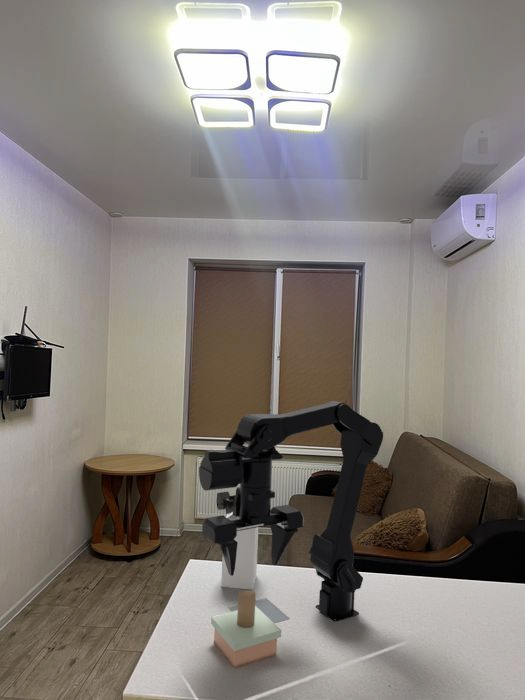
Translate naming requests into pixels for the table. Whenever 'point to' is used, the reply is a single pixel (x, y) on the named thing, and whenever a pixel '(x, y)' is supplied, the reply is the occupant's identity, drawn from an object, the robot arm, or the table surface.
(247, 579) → the milk carton
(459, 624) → the table surface
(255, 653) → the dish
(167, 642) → the table surface
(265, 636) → the lid
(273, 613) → the mat
